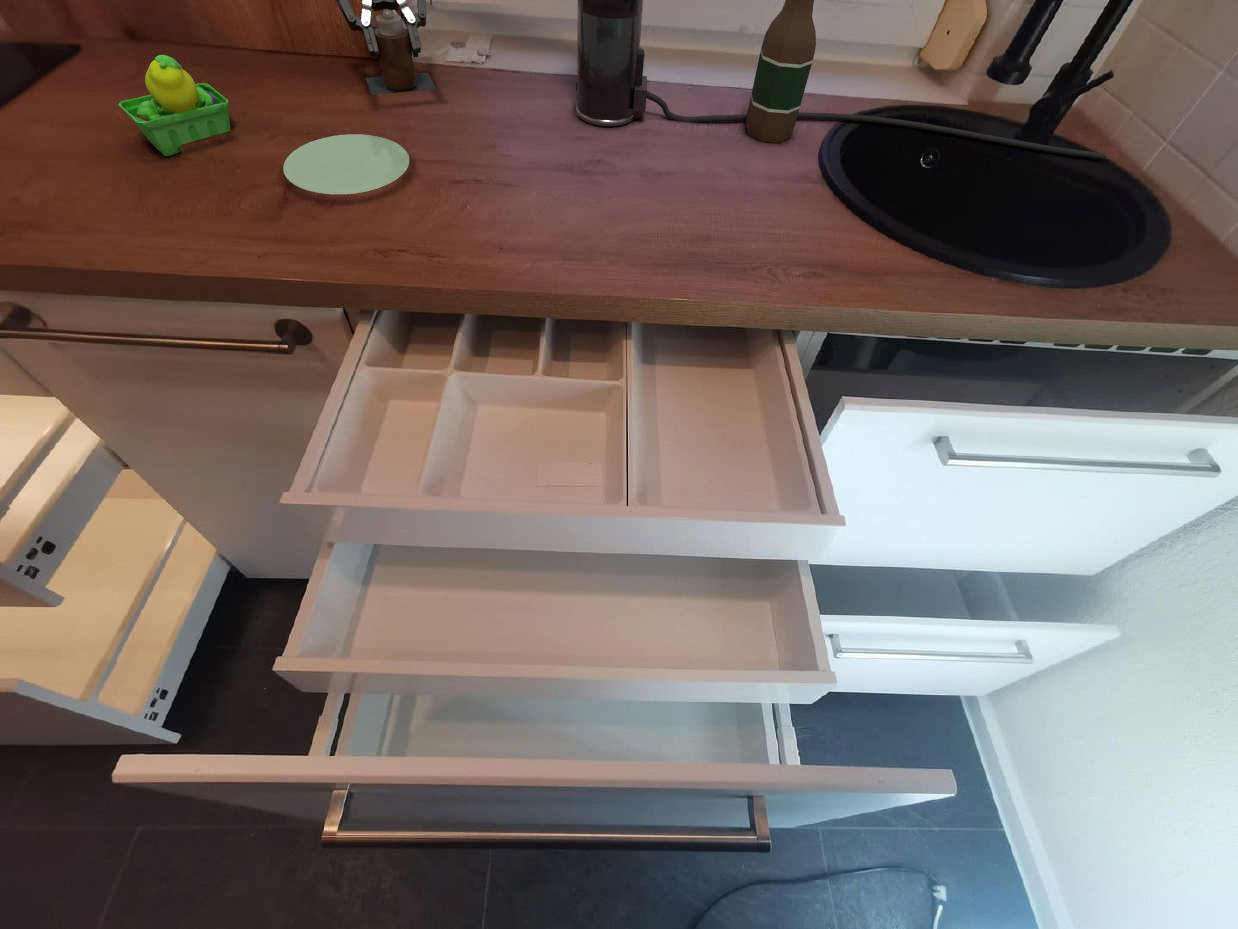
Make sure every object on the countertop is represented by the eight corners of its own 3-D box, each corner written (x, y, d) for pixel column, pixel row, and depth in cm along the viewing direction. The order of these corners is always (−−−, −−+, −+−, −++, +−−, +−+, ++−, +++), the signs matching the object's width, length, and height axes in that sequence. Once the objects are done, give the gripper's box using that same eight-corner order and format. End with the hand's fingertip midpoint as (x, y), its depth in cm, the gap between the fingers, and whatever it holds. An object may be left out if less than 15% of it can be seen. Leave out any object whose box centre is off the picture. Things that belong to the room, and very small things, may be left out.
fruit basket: (221, 119, 90) (183, 28, 81) (249, 142, 86) (212, 50, 77) (137, 141, 84) (86, 47, 75) (163, 168, 81) (113, 72, 72)
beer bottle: (797, 128, 99) (851, -63, 80) (784, 148, 95) (838, -49, 76) (751, 116, 101) (793, -74, 82) (736, 135, 97) (777, -61, 77)
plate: (400, 136, 90) (398, 128, 89) (421, 193, 81) (419, 184, 80) (282, 150, 85) (278, 141, 84) (291, 210, 77) (287, 201, 76)
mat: (428, 76, 103) (428, 72, 102) (441, 101, 97) (440, 97, 97) (366, 81, 100) (365, 77, 100) (375, 108, 95) (374, 104, 94)
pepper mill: (414, 74, 100) (401, 2, 92) (420, 87, 97) (407, 14, 89) (382, 77, 98) (366, 4, 91) (387, 90, 96) (371, 16, 88)
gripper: (308, -88, 85) (344, 46, 88) (414, -89, 89) (445, 39, 92) (317, -51, 92) (350, 72, 95) (415, -53, 96) (443, 64, 99)
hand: (397, 55), depth 93 cm, fingers closed on pepper mill, 5 cm apart
